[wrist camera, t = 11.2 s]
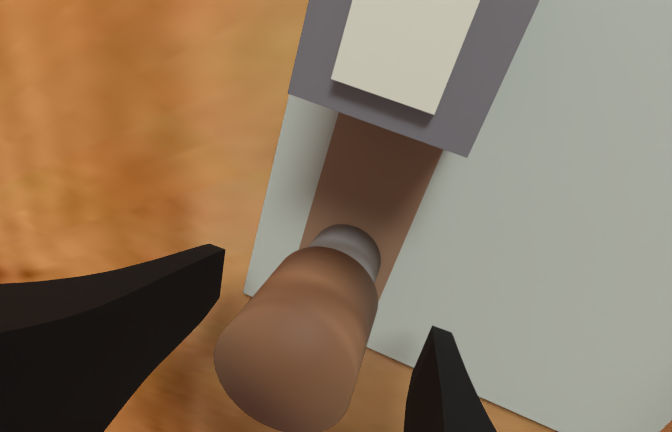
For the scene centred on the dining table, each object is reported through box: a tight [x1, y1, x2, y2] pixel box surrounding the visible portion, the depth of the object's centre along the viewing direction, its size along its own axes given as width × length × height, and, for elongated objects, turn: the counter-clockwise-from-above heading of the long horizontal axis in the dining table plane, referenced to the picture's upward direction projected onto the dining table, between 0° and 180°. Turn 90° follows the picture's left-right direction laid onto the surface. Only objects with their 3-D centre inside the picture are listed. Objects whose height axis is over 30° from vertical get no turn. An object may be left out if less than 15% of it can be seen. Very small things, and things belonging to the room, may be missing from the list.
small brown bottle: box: [214, 224, 381, 432], centre depth 13 cm, size 4×4×7 cm
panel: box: [243, 0, 672, 432], centre depth 13 cm, size 18×21×1 cm
